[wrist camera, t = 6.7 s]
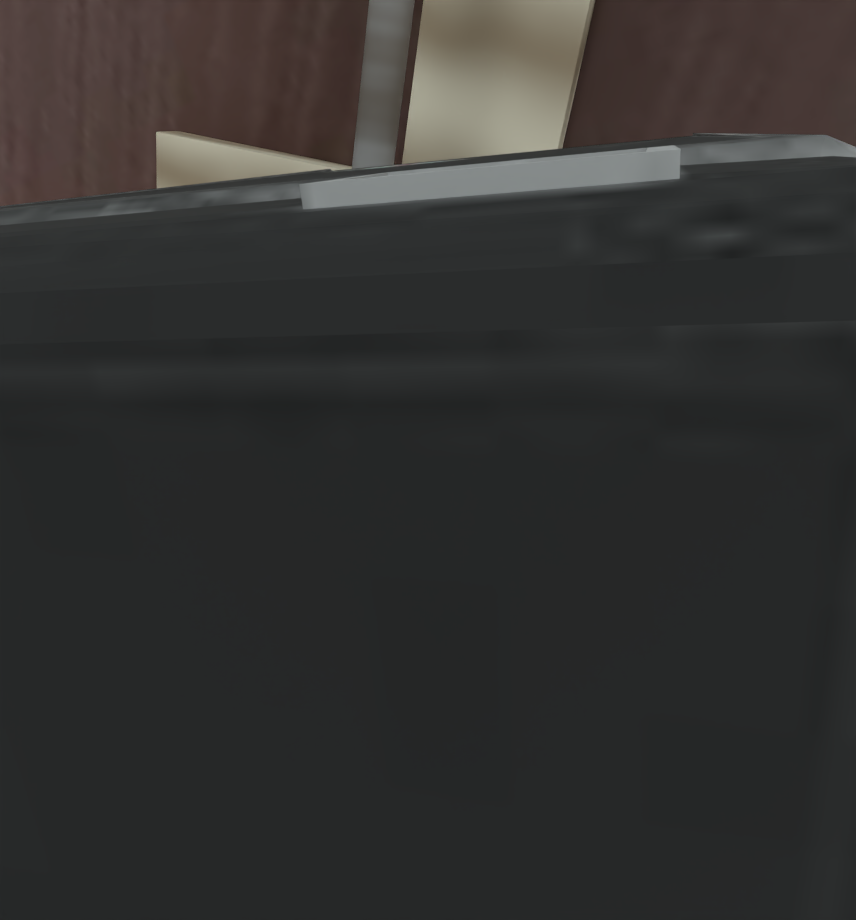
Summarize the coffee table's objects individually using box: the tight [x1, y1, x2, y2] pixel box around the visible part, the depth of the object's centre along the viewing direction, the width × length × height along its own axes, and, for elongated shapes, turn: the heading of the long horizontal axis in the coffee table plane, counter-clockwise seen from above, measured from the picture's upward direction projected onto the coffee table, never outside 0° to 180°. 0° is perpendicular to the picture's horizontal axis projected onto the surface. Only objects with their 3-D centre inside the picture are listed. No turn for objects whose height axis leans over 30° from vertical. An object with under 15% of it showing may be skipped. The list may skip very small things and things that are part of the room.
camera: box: [0, 133, 856, 920], centre depth 11 cm, size 10×11×15 cm
